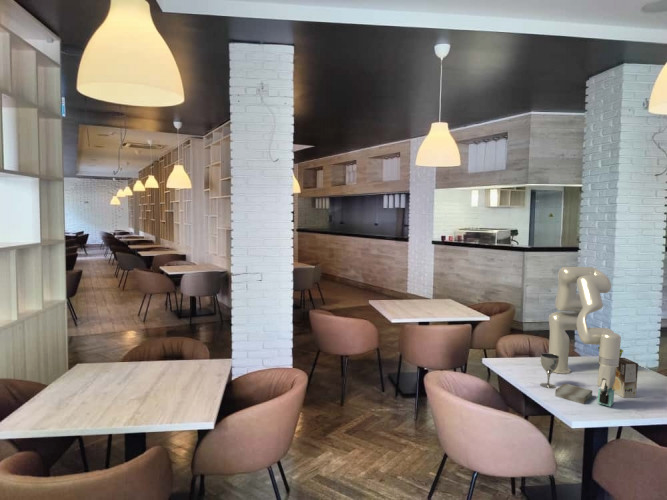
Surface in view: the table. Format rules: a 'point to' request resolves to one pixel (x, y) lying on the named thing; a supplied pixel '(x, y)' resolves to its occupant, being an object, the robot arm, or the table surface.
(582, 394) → the base block
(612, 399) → the teal block
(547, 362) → the wine glass
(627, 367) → the coffee box
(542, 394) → the table surface
